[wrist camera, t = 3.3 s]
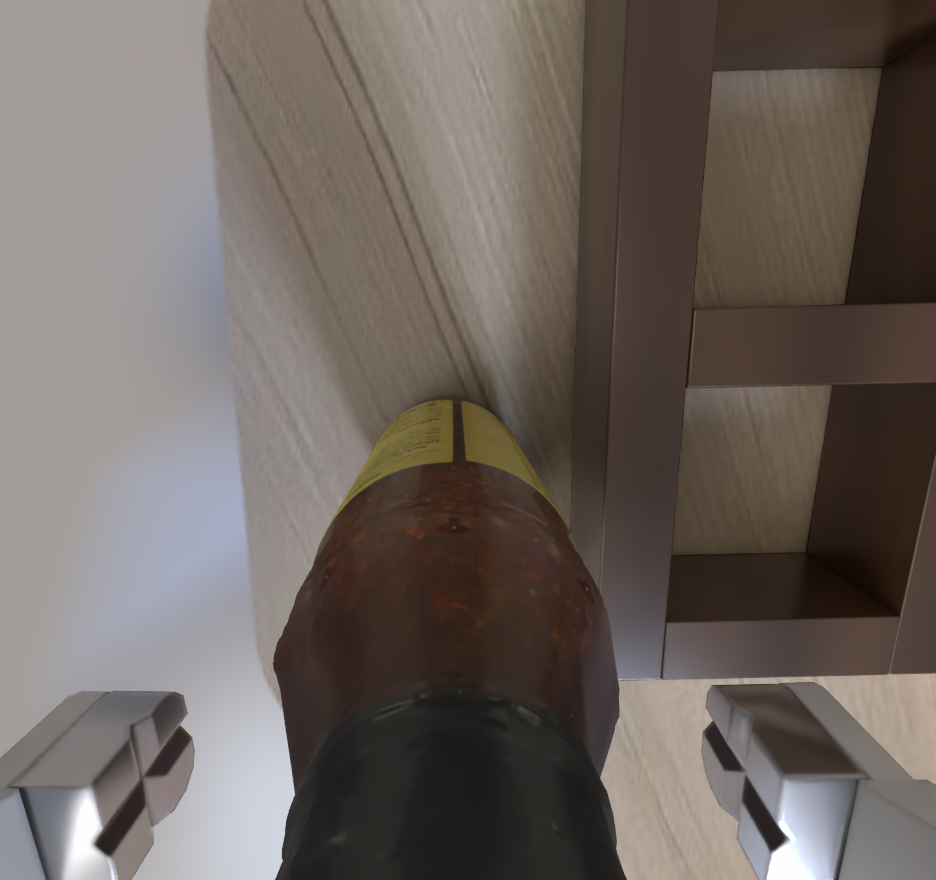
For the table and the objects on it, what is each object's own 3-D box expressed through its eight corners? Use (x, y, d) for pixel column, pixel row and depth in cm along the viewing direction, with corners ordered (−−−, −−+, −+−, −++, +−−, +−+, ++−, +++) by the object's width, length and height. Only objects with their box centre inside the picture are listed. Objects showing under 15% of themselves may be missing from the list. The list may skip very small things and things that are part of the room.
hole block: (567, 605, 23) (595, 682, 18) (585, -6, 17) (633, -140, 12) (850, 599, 23) (955, 674, 18) (965, -16, 17) (1166, -153, 12)
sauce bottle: (371, 517, 22) (-407, 2125, 2) (387, 381, 20) (-1371, 1663, 1) (514, 537, 22) (877, 2132, 3) (539, 404, 20) (1807, 1783, 1)
